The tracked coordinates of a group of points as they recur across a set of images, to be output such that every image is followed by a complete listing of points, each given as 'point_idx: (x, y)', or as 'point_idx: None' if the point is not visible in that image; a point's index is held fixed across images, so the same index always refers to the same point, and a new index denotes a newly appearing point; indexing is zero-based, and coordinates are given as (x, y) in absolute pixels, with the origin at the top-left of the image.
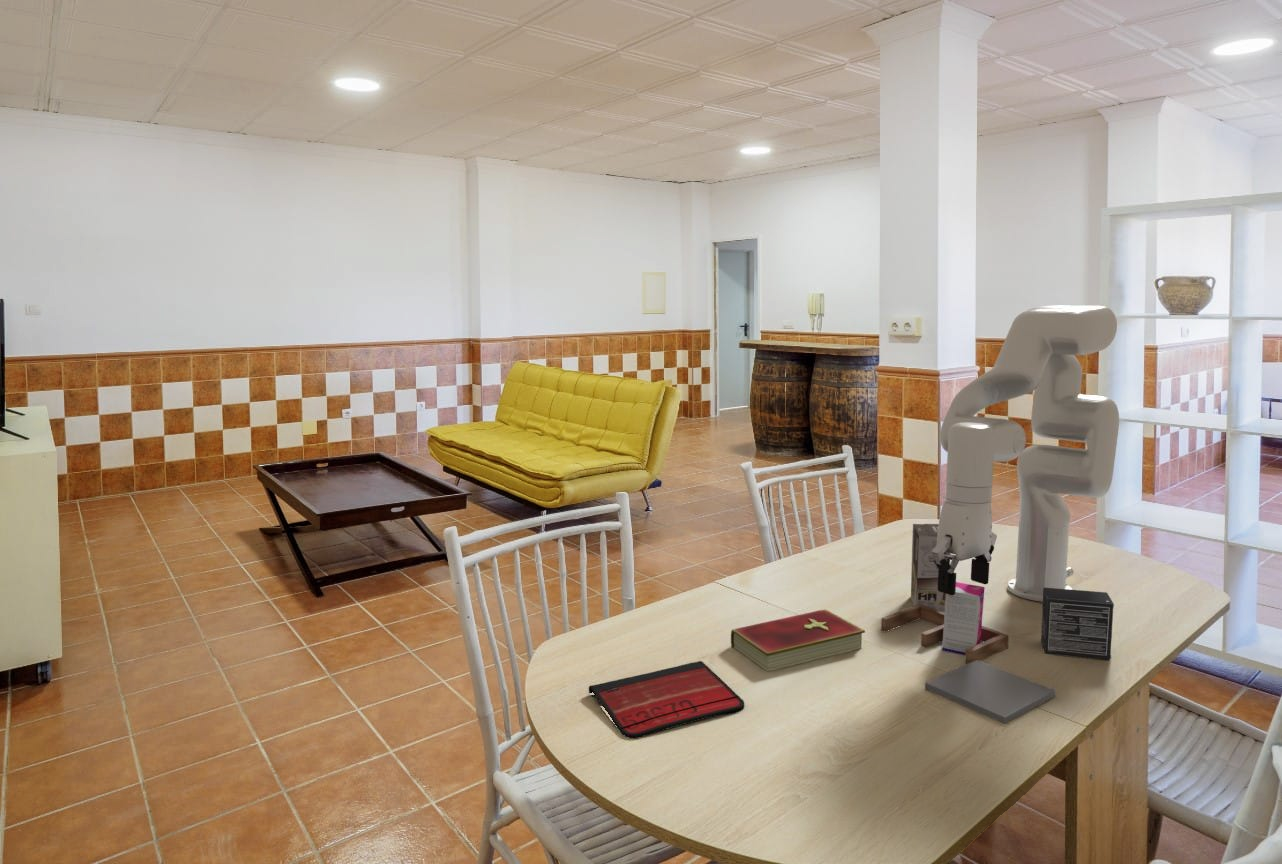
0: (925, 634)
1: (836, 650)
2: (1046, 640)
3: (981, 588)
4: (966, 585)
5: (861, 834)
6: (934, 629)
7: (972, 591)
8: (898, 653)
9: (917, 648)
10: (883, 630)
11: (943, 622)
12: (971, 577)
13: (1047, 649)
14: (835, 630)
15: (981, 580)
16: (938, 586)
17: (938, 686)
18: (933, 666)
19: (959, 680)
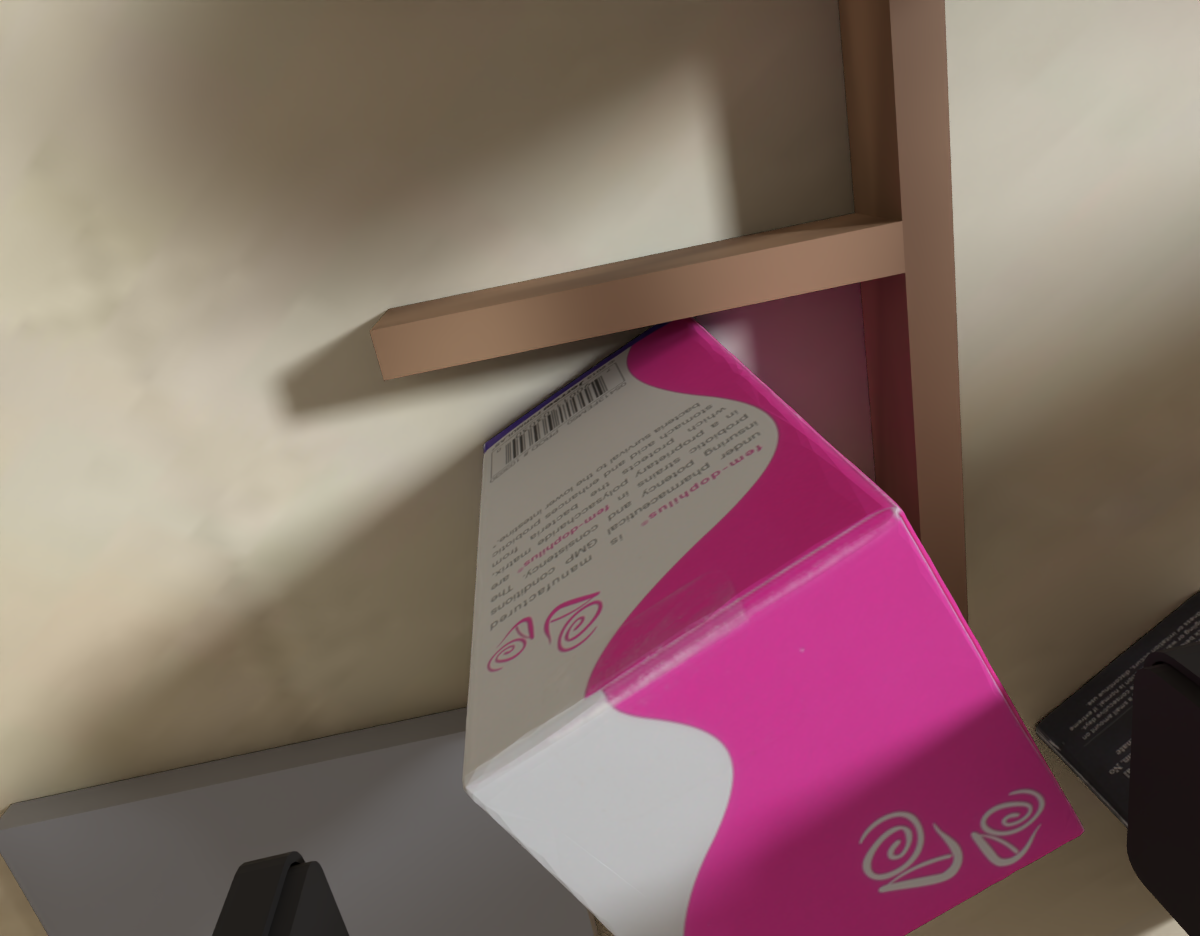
0: (385, 371)
1: None
2: (1092, 788)
3: (996, 870)
4: (921, 728)
5: None
6: (540, 318)
7: (787, 919)
8: (127, 335)
9: (336, 328)
10: None
11: (861, 75)
12: (1167, 697)
13: (1057, 754)
14: None
15: (1159, 844)
16: (229, 921)
17: (45, 889)
18: (256, 605)
19: (226, 874)
